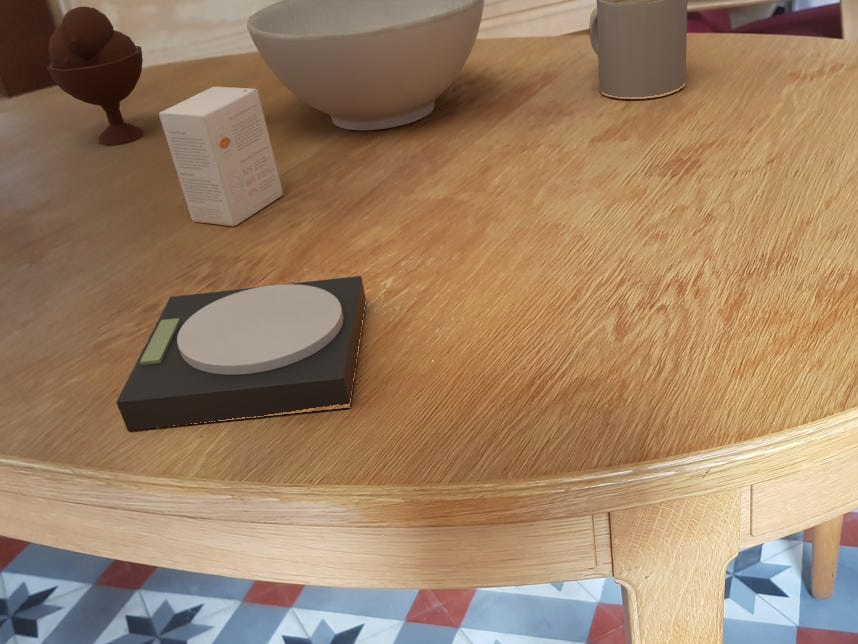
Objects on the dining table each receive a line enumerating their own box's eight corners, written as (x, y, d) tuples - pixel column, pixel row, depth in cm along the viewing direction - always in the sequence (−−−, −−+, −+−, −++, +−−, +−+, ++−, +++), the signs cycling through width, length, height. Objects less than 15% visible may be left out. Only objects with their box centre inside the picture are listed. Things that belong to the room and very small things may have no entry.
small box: (242, 191, 97) (213, 85, 91) (285, 196, 95) (259, 86, 88) (190, 222, 92) (155, 111, 85) (234, 228, 89) (202, 114, 83)
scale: (127, 432, 63) (111, 391, 61) (179, 323, 75) (166, 287, 73) (350, 408, 62) (341, 367, 60) (366, 303, 74) (359, 265, 72)
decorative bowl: (264, 104, 122) (240, 2, 115) (465, 67, 126) (453, -34, 118) (282, 170, 101) (253, 50, 94) (522, 124, 105) (512, 4, 97)
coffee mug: (702, 87, 108) (705, -10, 102) (626, 106, 106) (625, 8, 100) (641, 64, 118) (641, -25, 112) (570, 81, 116) (566, -9, 110)
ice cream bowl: (183, 124, 119) (144, -8, 110) (124, 155, 111) (77, 17, 102) (119, 121, 123) (77, -5, 114) (57, 151, 115) (7, 18, 106)
